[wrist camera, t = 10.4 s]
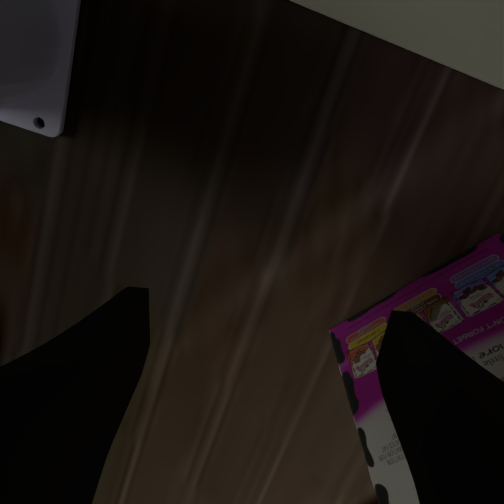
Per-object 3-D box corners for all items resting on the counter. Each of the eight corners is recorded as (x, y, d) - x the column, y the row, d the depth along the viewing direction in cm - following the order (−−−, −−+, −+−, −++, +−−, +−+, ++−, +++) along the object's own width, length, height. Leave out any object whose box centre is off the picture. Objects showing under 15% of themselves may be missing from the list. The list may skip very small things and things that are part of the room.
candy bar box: (366, 376, 27) (503, 776, 12) (325, 327, 25) (428, 726, 10) (533, 290, 24) (994, 686, 9) (500, 227, 22) (1008, 593, 7)
